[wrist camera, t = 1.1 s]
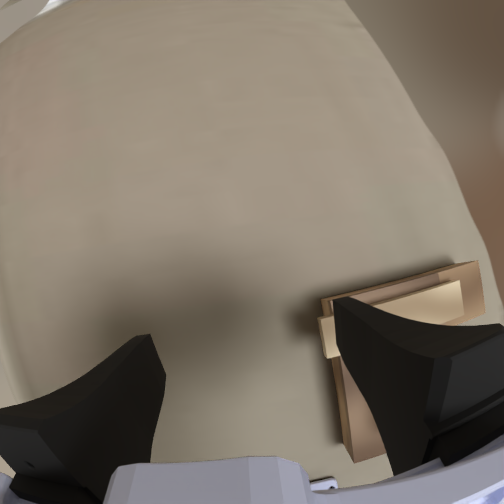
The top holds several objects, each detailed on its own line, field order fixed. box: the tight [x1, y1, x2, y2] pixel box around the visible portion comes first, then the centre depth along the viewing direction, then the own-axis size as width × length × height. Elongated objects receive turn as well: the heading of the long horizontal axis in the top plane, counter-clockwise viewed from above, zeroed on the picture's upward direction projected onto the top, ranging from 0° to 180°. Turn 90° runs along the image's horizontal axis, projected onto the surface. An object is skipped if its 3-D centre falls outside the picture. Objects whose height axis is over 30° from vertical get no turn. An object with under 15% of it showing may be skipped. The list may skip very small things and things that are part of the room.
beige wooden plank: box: [317, 280, 464, 359], centre depth 18 cm, size 2×10×1 cm, turn 101°
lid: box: [328, 273, 446, 463], centre depth 17 cm, size 12×8×4 cm, turn 11°
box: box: [320, 260, 485, 457], centre depth 20 cm, size 12×12×3 cm
